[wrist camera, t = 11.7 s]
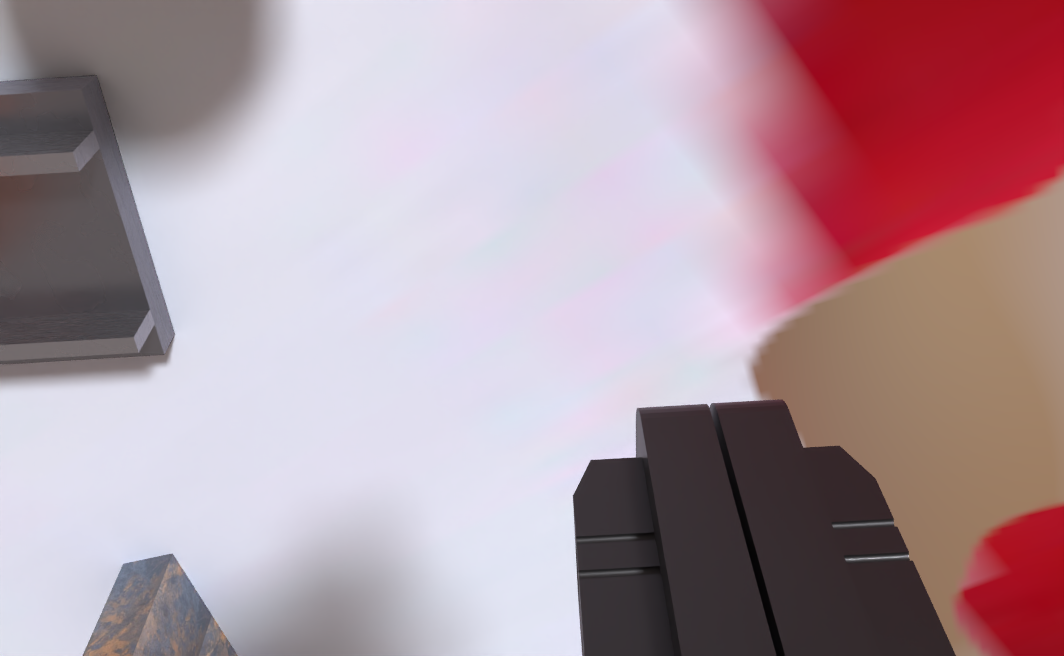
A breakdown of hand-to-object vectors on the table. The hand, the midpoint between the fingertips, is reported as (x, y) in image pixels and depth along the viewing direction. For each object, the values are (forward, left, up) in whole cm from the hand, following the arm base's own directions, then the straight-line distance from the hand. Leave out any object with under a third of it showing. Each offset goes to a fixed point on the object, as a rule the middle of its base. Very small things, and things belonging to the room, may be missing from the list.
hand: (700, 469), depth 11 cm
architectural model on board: (+21, -33, -28) cm, 48 cm away
